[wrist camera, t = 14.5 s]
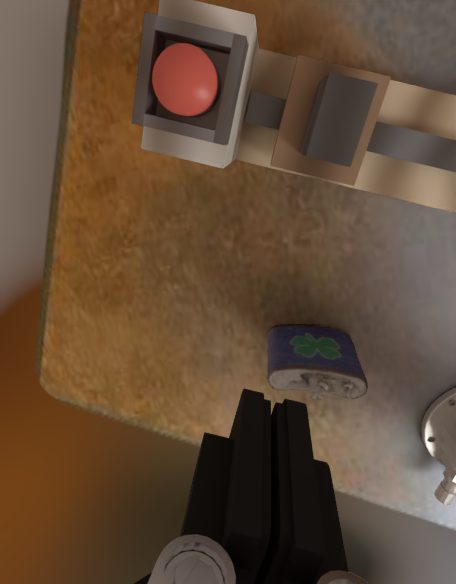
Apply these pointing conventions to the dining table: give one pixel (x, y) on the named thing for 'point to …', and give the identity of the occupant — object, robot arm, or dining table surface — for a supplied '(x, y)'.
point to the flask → (314, 361)
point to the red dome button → (186, 80)
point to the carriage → (328, 119)
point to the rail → (270, 105)
